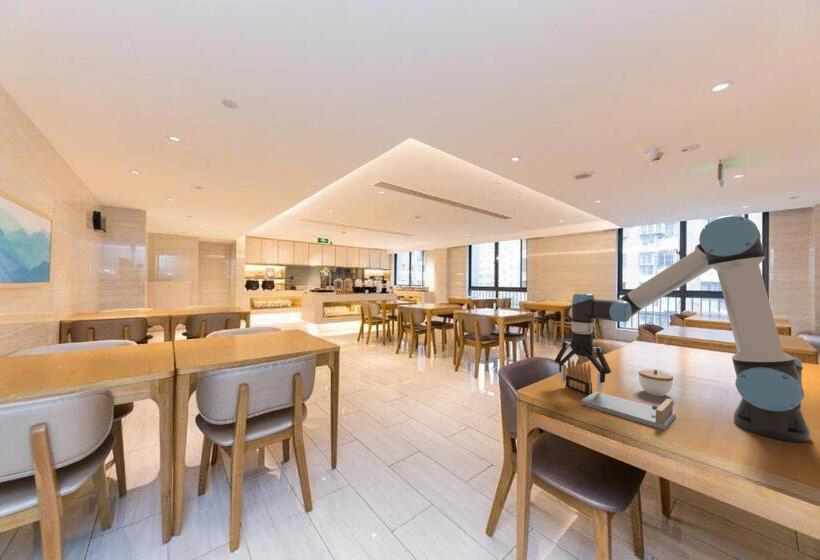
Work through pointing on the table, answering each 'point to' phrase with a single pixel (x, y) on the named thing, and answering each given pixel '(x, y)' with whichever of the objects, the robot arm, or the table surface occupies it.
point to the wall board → (633, 409)
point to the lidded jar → (655, 382)
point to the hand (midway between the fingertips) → (580, 385)
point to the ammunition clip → (579, 378)
